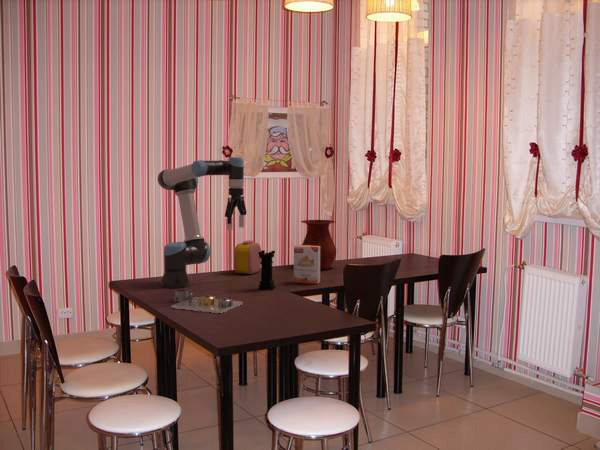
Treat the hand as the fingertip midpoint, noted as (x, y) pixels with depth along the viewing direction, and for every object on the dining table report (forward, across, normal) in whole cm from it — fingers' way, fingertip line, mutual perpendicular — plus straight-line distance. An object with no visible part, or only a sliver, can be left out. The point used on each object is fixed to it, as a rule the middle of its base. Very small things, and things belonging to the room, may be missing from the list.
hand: (235, 228), depth 335 cm
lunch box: (+34, +54, +18) cm, 66 cm away
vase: (+34, +86, -16) cm, 94 cm away
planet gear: (+33, -29, +14) cm, 46 cm away
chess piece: (+33, +14, -12) cm, 38 cm away
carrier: (+32, -36, -3) cm, 49 cm away
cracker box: (+33, +37, -26) cm, 56 cm away
